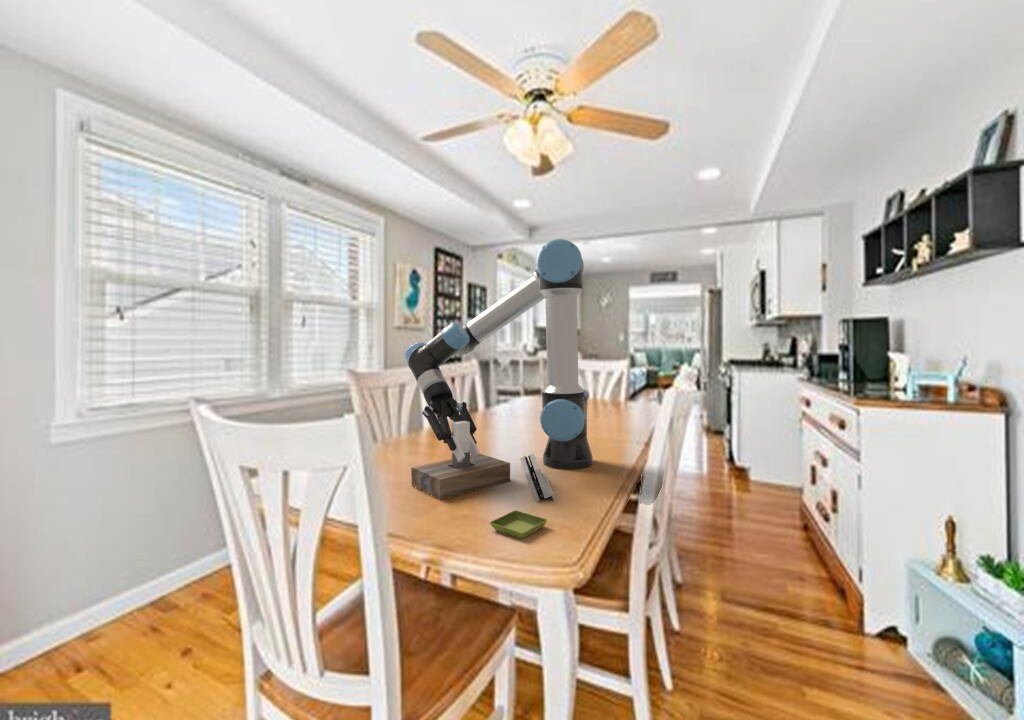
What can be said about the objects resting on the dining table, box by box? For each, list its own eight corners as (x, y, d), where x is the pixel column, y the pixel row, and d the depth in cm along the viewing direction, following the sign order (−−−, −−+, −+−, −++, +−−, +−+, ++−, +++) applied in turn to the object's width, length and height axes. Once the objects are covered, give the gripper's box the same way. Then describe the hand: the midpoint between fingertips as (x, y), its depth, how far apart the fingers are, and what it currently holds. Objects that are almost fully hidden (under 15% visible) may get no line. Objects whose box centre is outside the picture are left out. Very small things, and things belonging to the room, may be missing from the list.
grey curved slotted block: (556, 501, 113) (541, 462, 113) (537, 508, 113) (522, 469, 113) (547, 479, 130) (535, 445, 130) (531, 486, 130) (518, 451, 129)
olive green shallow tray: (548, 529, 98) (548, 519, 98) (522, 544, 91) (522, 533, 91) (515, 519, 104) (515, 509, 103) (488, 532, 97) (488, 522, 97)
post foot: (411, 486, 125) (411, 467, 125) (479, 470, 140) (479, 453, 139) (440, 499, 115) (439, 479, 114) (510, 481, 129) (510, 463, 129)
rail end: (452, 471, 127) (451, 422, 126) (464, 468, 129) (464, 420, 129) (457, 473, 125) (457, 423, 124) (470, 470, 127) (469, 422, 127)
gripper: (455, 394, 143) (489, 460, 132) (403, 400, 132) (435, 472, 121) (465, 378, 139) (501, 444, 127) (412, 382, 128) (447, 455, 116)
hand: (469, 457), depth 124 cm, fingers closed on rail end, 4 cm apart
